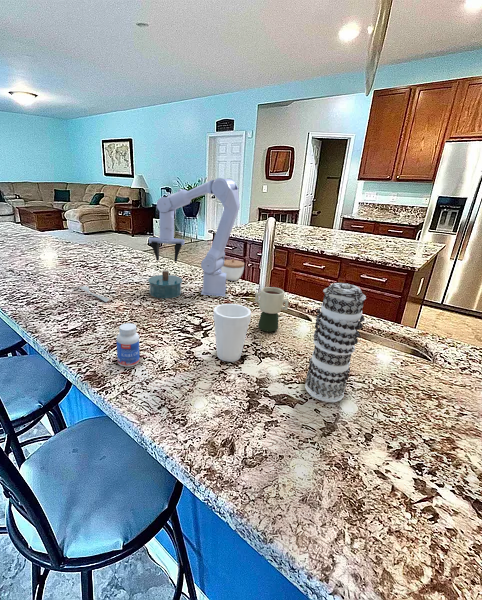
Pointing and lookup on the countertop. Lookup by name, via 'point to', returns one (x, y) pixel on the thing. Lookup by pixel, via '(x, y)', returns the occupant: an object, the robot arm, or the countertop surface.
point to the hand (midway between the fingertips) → (166, 260)
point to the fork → (94, 294)
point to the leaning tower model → (334, 341)
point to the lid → (165, 279)
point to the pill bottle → (127, 345)
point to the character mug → (270, 307)
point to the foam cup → (230, 330)
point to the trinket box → (233, 269)
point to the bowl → (164, 291)
